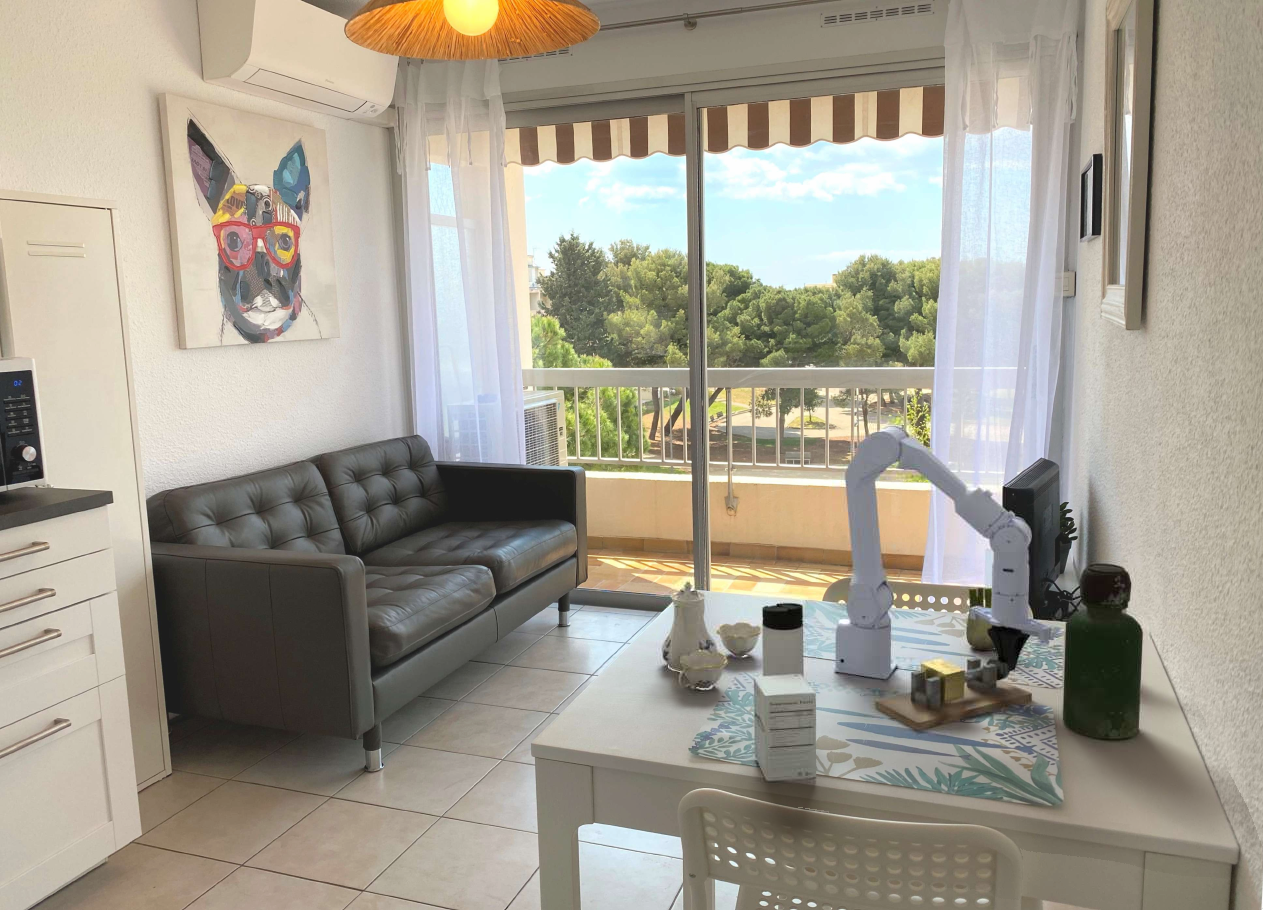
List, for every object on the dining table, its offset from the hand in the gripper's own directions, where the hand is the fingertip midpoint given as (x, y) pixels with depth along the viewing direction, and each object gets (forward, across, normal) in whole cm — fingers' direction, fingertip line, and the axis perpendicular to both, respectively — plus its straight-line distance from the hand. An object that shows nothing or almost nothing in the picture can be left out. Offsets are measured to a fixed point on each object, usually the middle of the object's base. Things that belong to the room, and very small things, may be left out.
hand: (1008, 669), depth 160 cm
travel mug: (+4, -10, -40) cm, 42 cm away
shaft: (+1, -1, -9) cm, 9 cm away
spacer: (+1, -2, -14) cm, 15 cm away
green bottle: (+4, +17, -1) cm, 18 cm away
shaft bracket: (+4, -1, -12) cm, 12 cm away
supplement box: (+4, +1, -49) cm, 49 cm away
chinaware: (+4, -38, -35) cm, 52 cm away
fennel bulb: (+4, -16, +14) cm, 21 cm away
